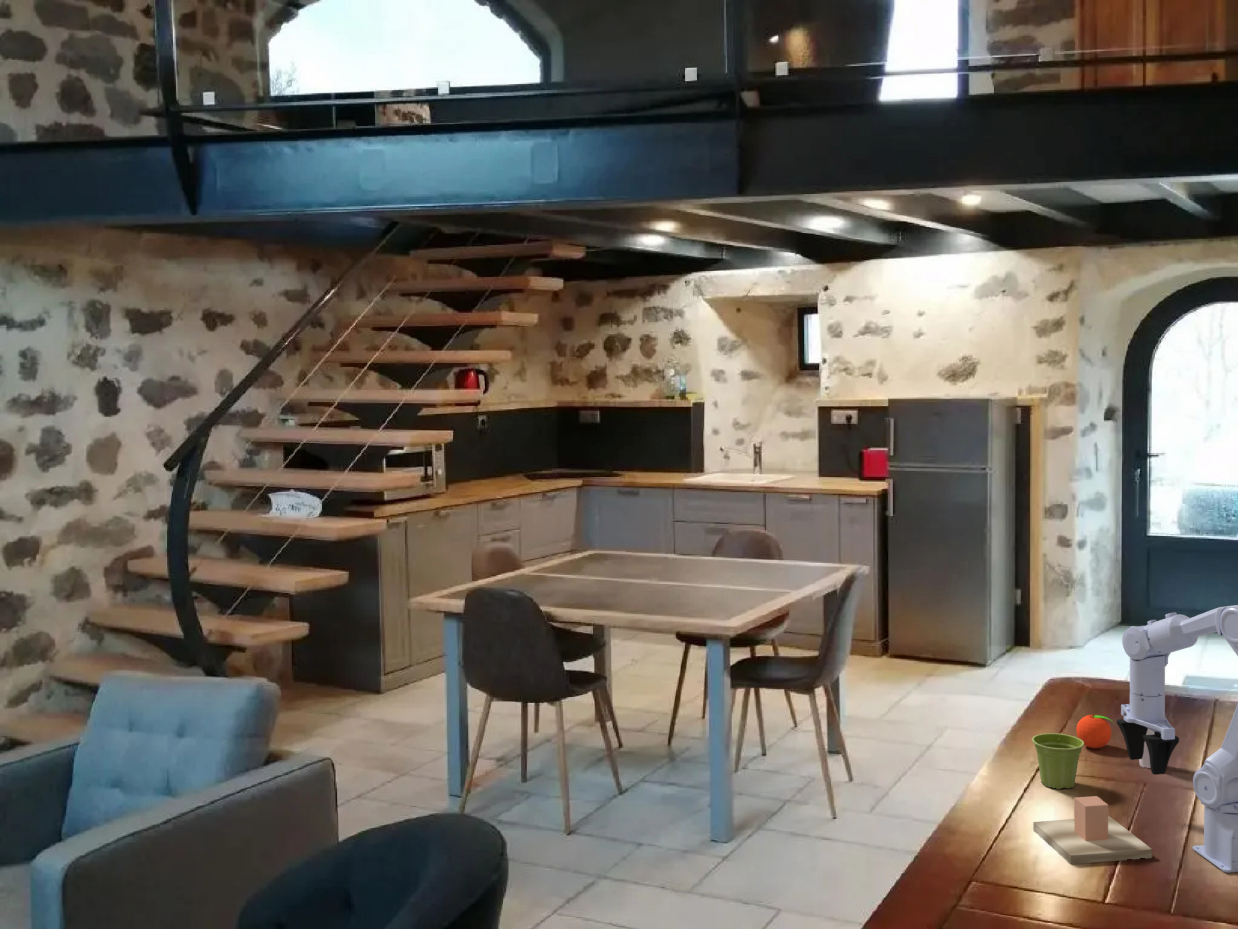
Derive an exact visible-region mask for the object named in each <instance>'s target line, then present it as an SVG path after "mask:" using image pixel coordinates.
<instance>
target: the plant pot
mask: <svg viewBox="0 0 1238 929" xmlns="http://www.w3.org/2000/svg"><path fill="white" fill-rule="evenodd" d="M1031 742H1032V743H1033V744H1034V748H1035V751H1036V756H1037V761H1038V763H1037V764H1038V768H1039V776H1040V782H1041V783H1042V784H1043V785H1044V786H1045V785H1046V786H1045V787H1047V786H1048V787H1047V788H1051V787H1052V789H1055V788H1056V789H1057V790H1061V789H1063V788H1066V789H1072V788H1073V787H1075V783H1076V779H1077V778H1076V777H1077V772H1078V766H1079V759H1080V754H1081V753H1082V748H1084V746H1085V745H1084V742H1083V741H1082V740H1081V739H1079V738H1078V736H1077V737H1076V736H1073V735H1069V734H1065V733H1056V732H1055V733H1052V732H1051V733H1040V734H1037V735H1034V736H1032V738H1031ZM1071 787H1072V788H1071Z"/></svg>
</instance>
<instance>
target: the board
mask: <svg viewBox="0 0 1238 929" xmlns="http://www.w3.org/2000/svg"><path fill="white" fill-rule="evenodd" d="M1033 831H1034V832H1035V833H1036V834H1037V835H1038V836H1039V837H1040V838H1042V839H1043V841H1044V842H1045V843H1046V844H1048V845H1049V846H1050V847H1051V848H1052V849H1053V850H1054V851H1056V853H1058V854H1059V855H1060V857H1062V858H1063V859H1064V860H1065V861H1066V862H1068V864H1070V865H1078V864H1091V863H1104V862H1116V861H1128V860H1127V859H1132V860H1141V859H1140V858H1145V859H1152V858H1153V849H1152V848H1151V847H1150V846H1149V845H1148V844H1146V843H1145V842H1143V841H1142V840H1141V839H1139V837H1137V836H1135V834H1133V833H1132V832H1130V831H1129V830H1128V829H1127V828H1125V827H1124V826H1122V825H1121V824H1120V823H1119V822H1117V820H1115V819H1114V818H1113V817H1111V816H1109V815H1108V839H1103V840H1089V841H1085V840H1084V839H1083V838H1082V837H1080V836H1079V835H1078V834H1077V833H1076V832H1075V831H1074V818H1069V819H1055V820H1043V821H1033Z"/></svg>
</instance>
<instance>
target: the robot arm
mask: <svg viewBox="0 0 1238 929" xmlns="http://www.w3.org/2000/svg"><path fill="white" fill-rule="evenodd" d="M1164 616H1165V618H1163V619H1160V620H1158V621H1157V619H1150V620H1149V621H1147V624H1146V625H1140V626H1134V625H1133V626H1130V627H1129V628H1127V629H1125V630H1124V632H1123V634H1122V640H1121V641H1122V648H1123V650H1124V652H1125V654H1126V655H1127V656H1128V658H1129V703H1127V704H1126V703H1125V704H1121V705H1120V715H1121V716H1123V718H1118V719H1116V724H1117V727H1118V728H1119V730H1120V731H1121V734H1122V737H1123V739H1124V742H1125V747H1126V750H1127V753H1128V758H1129V759H1130V760H1131V761H1132V760H1133V761H1134V760H1139V759H1142V757H1143V753H1144V743H1145V742H1146V745H1147V748H1148V751H1149V757H1150V767H1151V769H1150V770H1151V774H1153V775H1155V776H1156V775H1165V774H1166V771H1167V768H1168V765H1169V761H1170V758H1171V756H1172V753H1173V751H1174V750H1175V748H1176V746H1177V745H1178V744H1179V742H1180V737H1179V736H1177V735H1176V728H1174V726H1172V725H1171V724H1170V722H1169V721H1168V719H1167V717H1166V712H1165V711H1166V708H1165V707H1166V667H1167V665H1168V664H1169V657H1170V655H1171V653H1175V652H1177V651H1182V650H1184V649H1188V648H1191V647H1193V646H1194V645H1196V644H1197V642H1198V639H1199V637H1203V636H1205V635H1210V634H1214V633H1217V635H1218V636H1223V637H1224V639H1225V640H1226V642H1227V643H1228V644H1229V646H1230V647H1231V649H1232V651H1233V652H1234V653H1235V655H1236V656H1237V657H1238V604H1235V605H1227V606H1218V607H1217V608H1214V609H1211V610H1207V611H1206V612H1202V613H1200V614H1197V615H1195V616H1193V617H1189V616H1187V615H1185V614H1177V612H1170V613H1166V614H1165V615H1164ZM1148 728H1149V729H1150V730H1152V731H1154V735H1146V733H1147V730H1148ZM1224 736H1225V737H1224V738H1223V741H1222V745H1221V746H1220V748H1219V749H1217V750H1216V751H1214V753H1212V754H1211V755H1209V756H1208V757H1207V758H1206V759H1205V760H1204V763H1203V765H1202V766H1201V767H1200V768H1198V770H1195V772H1194V774H1193V777H1192V786H1193V790H1194V793H1195V795H1196V798H1198V800H1199V801H1200V804H1201V805H1203V806H1204V808H1203V812H1204V813H1203V844H1202V845H1201V844H1199V845H1198V844H1197V845H1192V850H1193V851H1194V852H1196V853H1197V854H1198V855H1200V856H1201V857H1203V858H1204V859H1206V860H1207V861H1208V862H1209V863H1211V864H1213V865H1214V866H1215V867H1217V868H1218V869H1219V870H1221V871H1222V872H1224V873H1226V874H1227V873H1238V703H1237V704H1236V707H1235V710H1234V712H1233V715H1232V716H1231V720H1230V723H1229V725H1228V728H1227V731H1226V734H1225V735H1224Z"/></svg>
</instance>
